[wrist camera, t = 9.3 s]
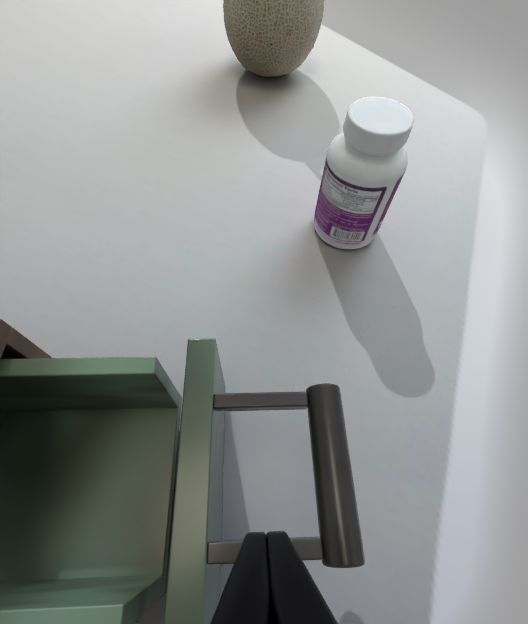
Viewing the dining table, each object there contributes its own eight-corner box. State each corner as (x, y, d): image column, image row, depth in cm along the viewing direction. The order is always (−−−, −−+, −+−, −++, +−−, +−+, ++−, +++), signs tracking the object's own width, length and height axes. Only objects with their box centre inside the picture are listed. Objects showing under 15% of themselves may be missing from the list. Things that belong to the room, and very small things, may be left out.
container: (310, 384, 21) (335, 333, 15) (332, 602, 16) (385, 663, 10) (12, 390, 20) (-92, 339, 14) (-66, 623, 15) (-286, 703, 9)
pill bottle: (343, 196, 31) (378, 79, 22) (388, 232, 29) (445, 118, 20) (298, 223, 29) (318, 107, 21) (343, 263, 27) (385, 152, 19)
